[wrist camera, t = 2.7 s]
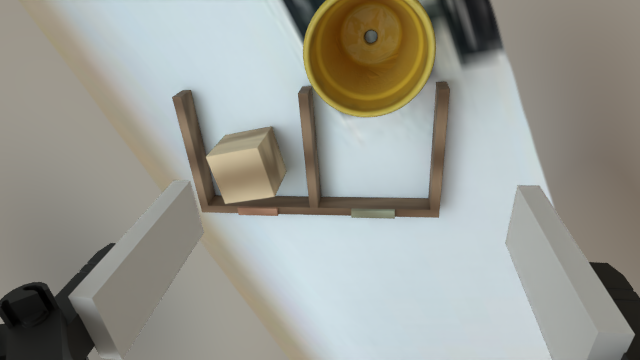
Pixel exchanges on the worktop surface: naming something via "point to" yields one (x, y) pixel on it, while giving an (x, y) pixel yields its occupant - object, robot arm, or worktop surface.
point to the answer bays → (313, 171)
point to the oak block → (247, 165)
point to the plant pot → (369, 54)
